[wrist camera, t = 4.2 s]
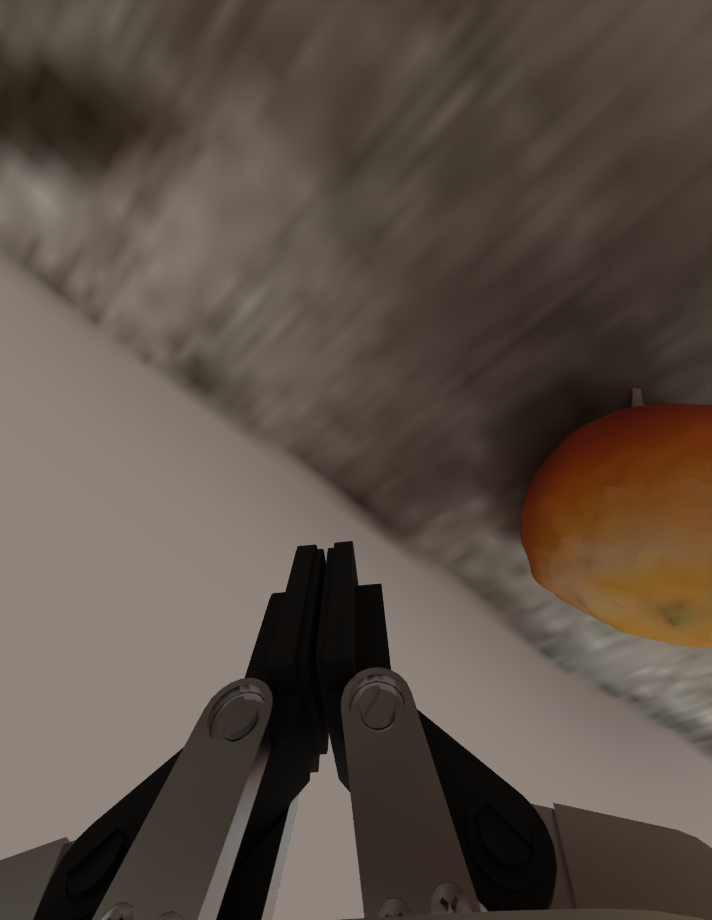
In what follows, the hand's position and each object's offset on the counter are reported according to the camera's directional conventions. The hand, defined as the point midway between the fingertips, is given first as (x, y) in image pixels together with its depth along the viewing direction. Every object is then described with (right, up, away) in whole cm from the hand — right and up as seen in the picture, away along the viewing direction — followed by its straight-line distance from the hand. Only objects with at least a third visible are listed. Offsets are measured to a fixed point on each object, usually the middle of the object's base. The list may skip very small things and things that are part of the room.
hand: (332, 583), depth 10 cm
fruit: (+11, +3, +4) cm, 12 cm away
